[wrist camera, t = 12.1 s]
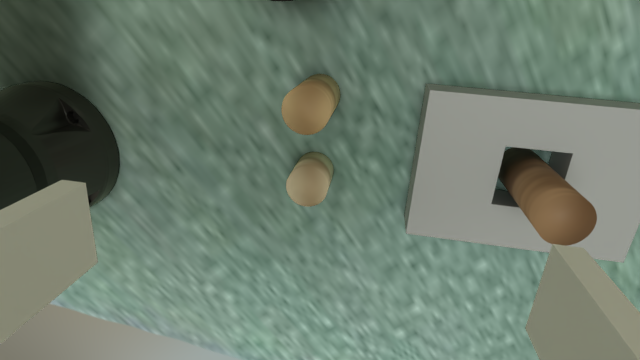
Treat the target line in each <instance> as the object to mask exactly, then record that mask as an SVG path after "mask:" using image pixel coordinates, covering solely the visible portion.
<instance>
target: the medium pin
mask: <svg viewBox="0 0 640 360" xmlns="http://www.w3.org/2000/svg"><path fill="white" fill-rule="evenodd" d="M339 100H340V89H339V86H338V84H337V83H336V81H335V80H334V79H333V78H331V77H330V76H328V75H325V74H315V75H312V76H310V77H309V78H307V79H306V80H305V81H303V82H302V83H300V84H299V85H298V86H296V87H295V88H294V89H292V90H291V91H290V92H289V93H288V94H287V95H286V96H285V98H284V100H283V103H282V116H283V119H284V121H285V123H286V124H287V126H288V127H289V128H290V129H292V130H293V131H295V132H297V133H299V134H303V135H311V134H315V133H317V132H319V131H320V130H322V129H323V128H324V127H325V125H326V124H327V122H328V120H329V119H330V117H331V115H332V114H333V112H334V110H335V108H336V107H337V105H338V103H339Z"/></svg>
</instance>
